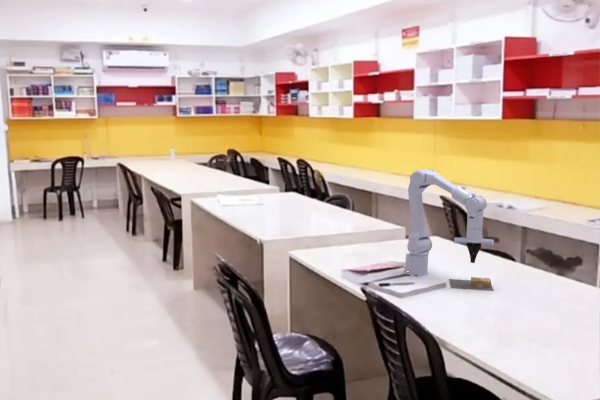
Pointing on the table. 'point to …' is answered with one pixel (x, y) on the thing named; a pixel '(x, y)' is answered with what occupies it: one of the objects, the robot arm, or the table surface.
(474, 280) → the block
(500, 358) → the table surface
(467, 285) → the mat
